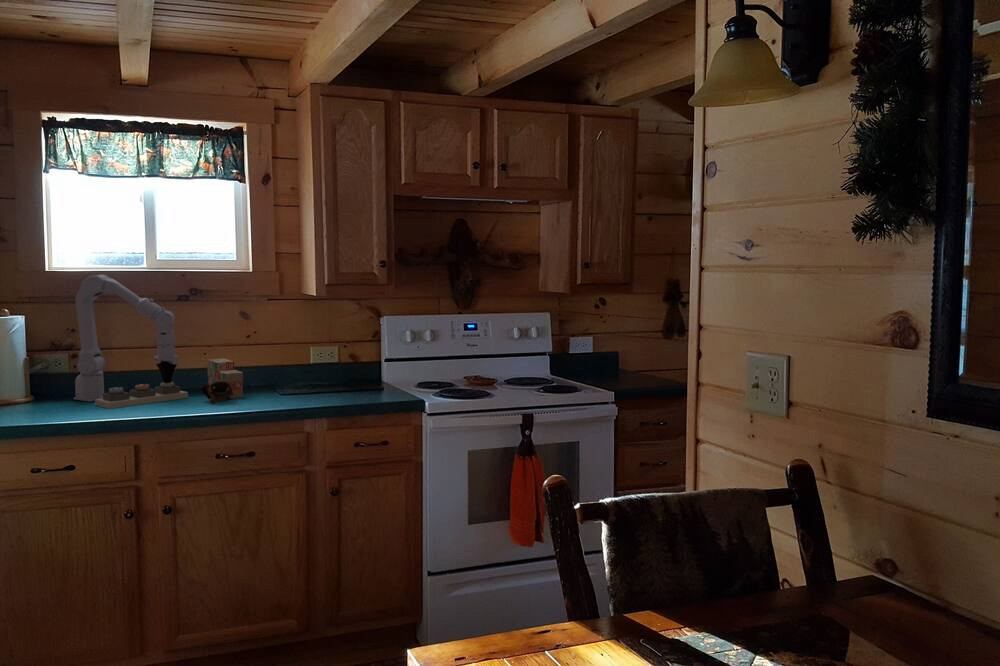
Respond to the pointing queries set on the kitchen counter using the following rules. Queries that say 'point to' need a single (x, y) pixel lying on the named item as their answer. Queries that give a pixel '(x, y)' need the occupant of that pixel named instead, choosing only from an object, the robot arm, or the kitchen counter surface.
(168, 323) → the robot arm
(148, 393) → the button panel
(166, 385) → the one pip button
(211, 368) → the stack of blocks
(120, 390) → the two pip button
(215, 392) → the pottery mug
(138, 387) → the three pip button
